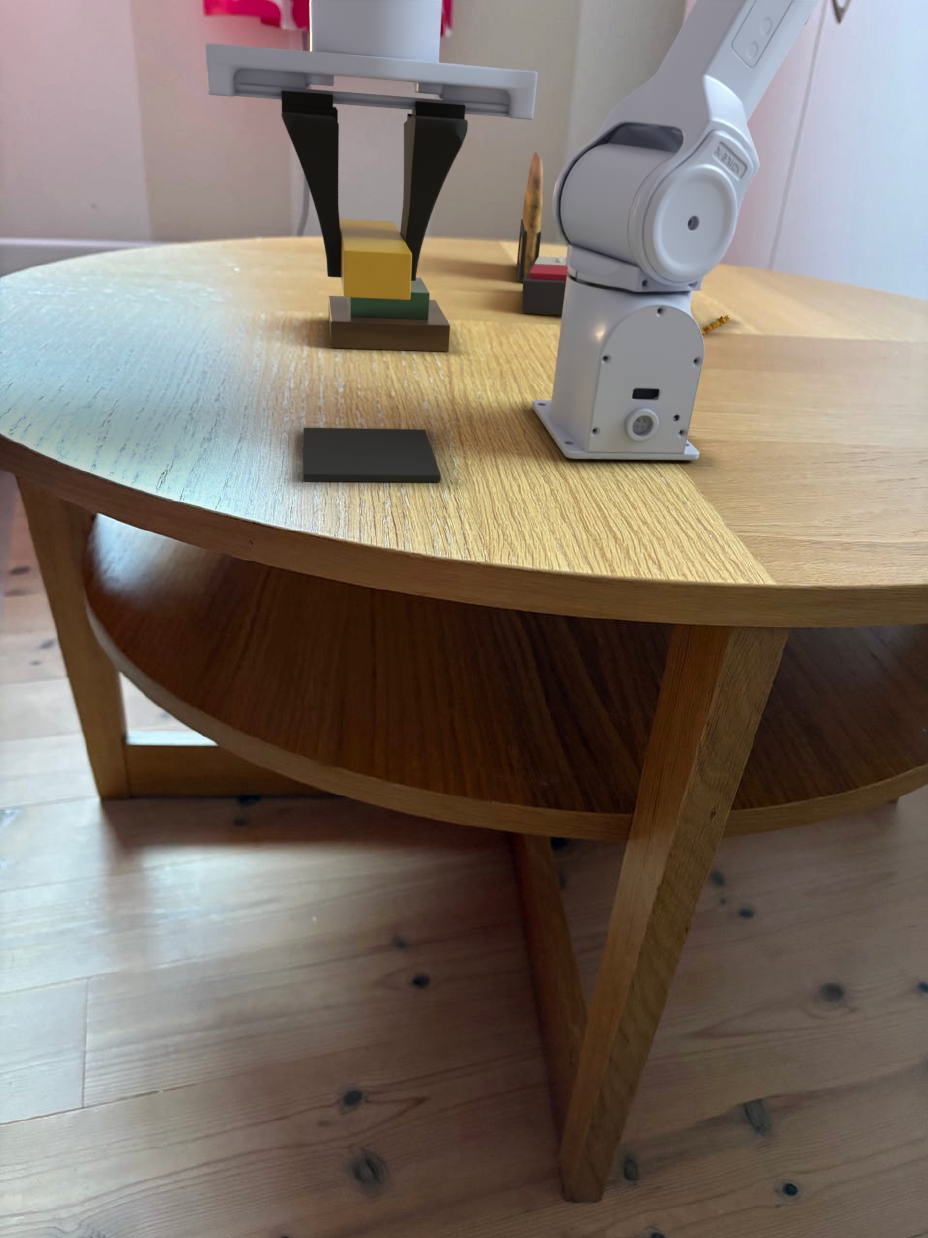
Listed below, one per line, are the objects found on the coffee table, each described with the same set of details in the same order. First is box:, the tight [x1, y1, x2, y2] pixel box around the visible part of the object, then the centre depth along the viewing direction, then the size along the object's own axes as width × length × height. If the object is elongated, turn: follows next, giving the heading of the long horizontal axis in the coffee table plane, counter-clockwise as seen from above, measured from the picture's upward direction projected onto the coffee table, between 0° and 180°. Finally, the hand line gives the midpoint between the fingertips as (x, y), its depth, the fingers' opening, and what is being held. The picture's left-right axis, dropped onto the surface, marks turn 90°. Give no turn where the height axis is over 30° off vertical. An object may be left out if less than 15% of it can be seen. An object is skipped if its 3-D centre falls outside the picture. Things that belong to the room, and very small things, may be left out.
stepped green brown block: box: [327, 277, 451, 352], centre depth 71 cm, size 9×9×4 cm
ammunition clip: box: [516, 151, 544, 284], centre depth 97 cm, size 11×2×12 cm, turn 178°
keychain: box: [700, 314, 731, 335], centre depth 82 cm, size 8×1×1 cm, turn 148°
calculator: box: [521, 255, 568, 316], centre depth 85 cm, size 11×4×15 cm
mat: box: [302, 427, 442, 483], centre depth 48 cm, size 7×7×1 cm
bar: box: [339, 218, 412, 300], centre depth 44 cm, size 10×3×2 cm, turn 8°
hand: (371, 275), depth 44 cm, fingers closed on bar, 3 cm apart
